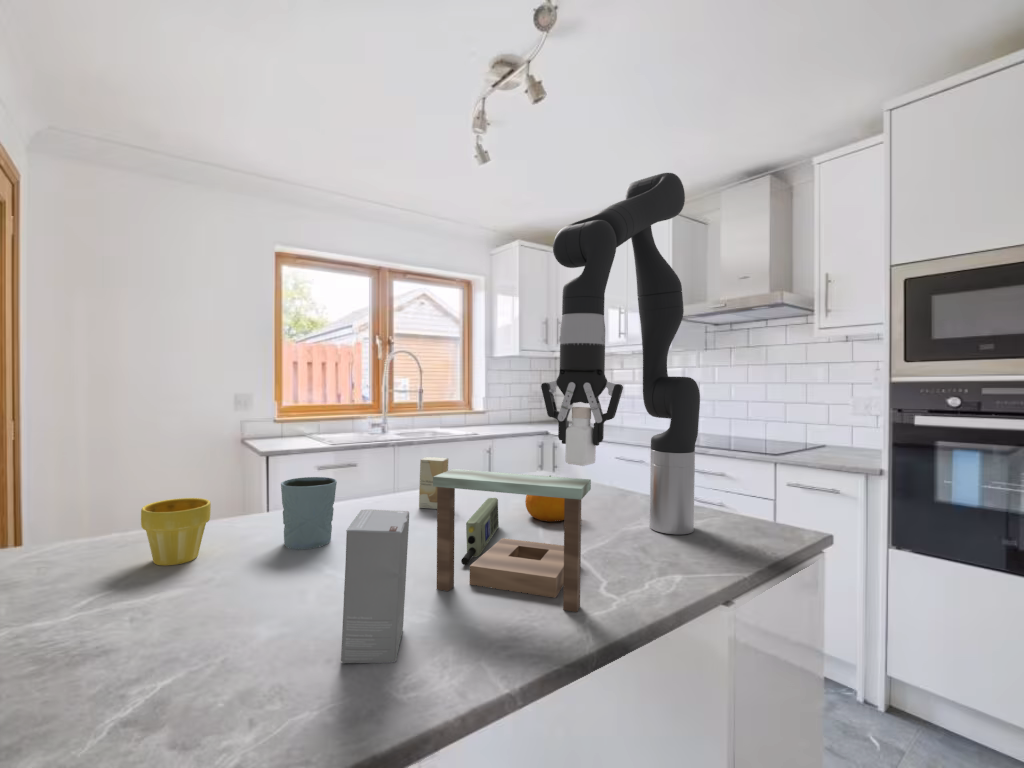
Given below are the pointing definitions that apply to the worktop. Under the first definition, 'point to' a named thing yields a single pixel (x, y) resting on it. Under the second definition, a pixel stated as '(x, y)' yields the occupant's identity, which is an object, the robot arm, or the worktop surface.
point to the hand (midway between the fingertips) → (580, 443)
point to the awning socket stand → (515, 559)
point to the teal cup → (308, 511)
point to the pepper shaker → (580, 438)
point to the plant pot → (175, 528)
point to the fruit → (545, 507)
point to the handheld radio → (481, 528)
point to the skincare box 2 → (430, 480)
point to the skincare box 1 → (374, 586)
